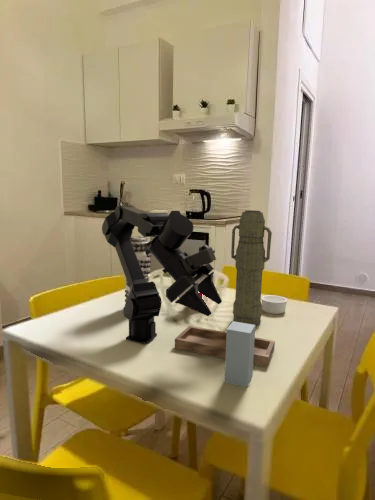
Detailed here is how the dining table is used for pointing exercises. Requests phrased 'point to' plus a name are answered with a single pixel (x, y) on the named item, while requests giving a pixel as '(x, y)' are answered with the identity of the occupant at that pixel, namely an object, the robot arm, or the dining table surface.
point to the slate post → (239, 353)
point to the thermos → (249, 266)
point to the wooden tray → (220, 344)
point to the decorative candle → (140, 258)
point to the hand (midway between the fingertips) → (215, 308)
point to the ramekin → (273, 304)
